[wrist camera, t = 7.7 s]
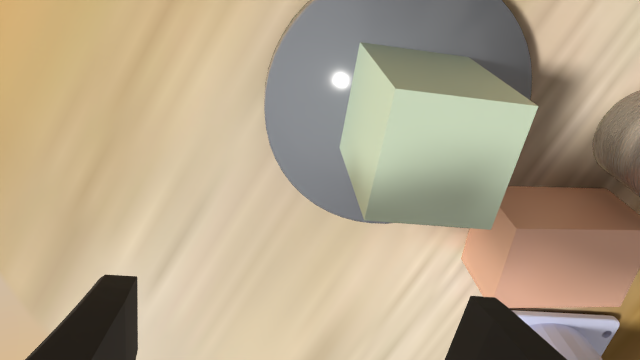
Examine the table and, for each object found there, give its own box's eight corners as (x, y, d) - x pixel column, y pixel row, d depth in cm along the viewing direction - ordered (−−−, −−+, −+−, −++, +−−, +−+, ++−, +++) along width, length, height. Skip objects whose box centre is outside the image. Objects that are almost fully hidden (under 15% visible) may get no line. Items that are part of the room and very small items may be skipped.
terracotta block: (574, 256, 24) (620, 306, 21) (459, 256, 23) (490, 308, 20) (604, 186, 22) (658, 230, 19) (480, 183, 22) (516, 228, 19)
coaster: (472, 219, 22) (481, 232, 21) (251, 200, 20) (250, 213, 20) (559, -13, 18) (575, -9, 17) (283, -64, 16) (284, -63, 15)
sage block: (438, 157, 19) (490, 229, 15) (339, 147, 19) (363, 220, 14) (468, 57, 17) (538, 105, 13) (360, 41, 17) (395, 88, 12)
